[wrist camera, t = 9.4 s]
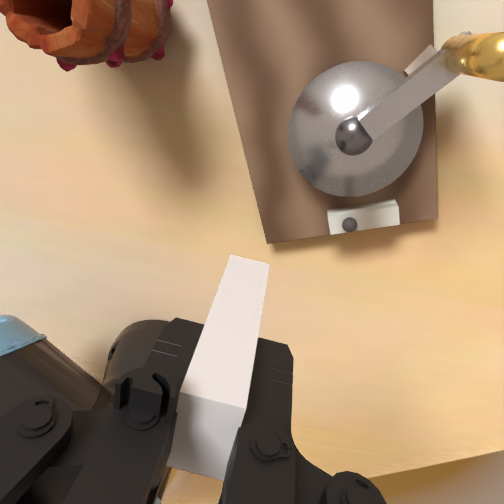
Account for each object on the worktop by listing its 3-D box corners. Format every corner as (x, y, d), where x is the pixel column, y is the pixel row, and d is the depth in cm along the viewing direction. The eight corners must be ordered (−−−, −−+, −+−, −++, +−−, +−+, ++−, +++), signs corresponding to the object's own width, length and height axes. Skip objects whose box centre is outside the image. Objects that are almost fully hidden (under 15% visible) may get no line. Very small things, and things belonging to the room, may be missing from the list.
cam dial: (337, 211, 37) (344, 268, 28) (264, 123, 34) (244, 152, 25) (497, 99, 31) (579, 123, 21) (424, -22, 28) (480, -58, 18)
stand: (269, 235, 42) (263, 257, 38) (207, -17, 32) (190, -27, 28) (434, 210, 38) (449, 231, 34) (425, -90, 28) (446, -115, 24)
